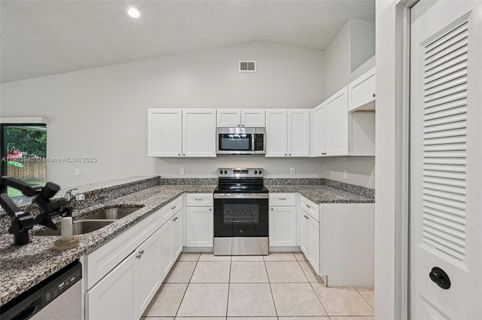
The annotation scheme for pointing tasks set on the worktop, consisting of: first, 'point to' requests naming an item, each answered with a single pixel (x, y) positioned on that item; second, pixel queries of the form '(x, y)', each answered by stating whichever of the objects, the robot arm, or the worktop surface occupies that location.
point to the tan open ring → (66, 243)
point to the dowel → (66, 229)
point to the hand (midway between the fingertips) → (65, 226)
